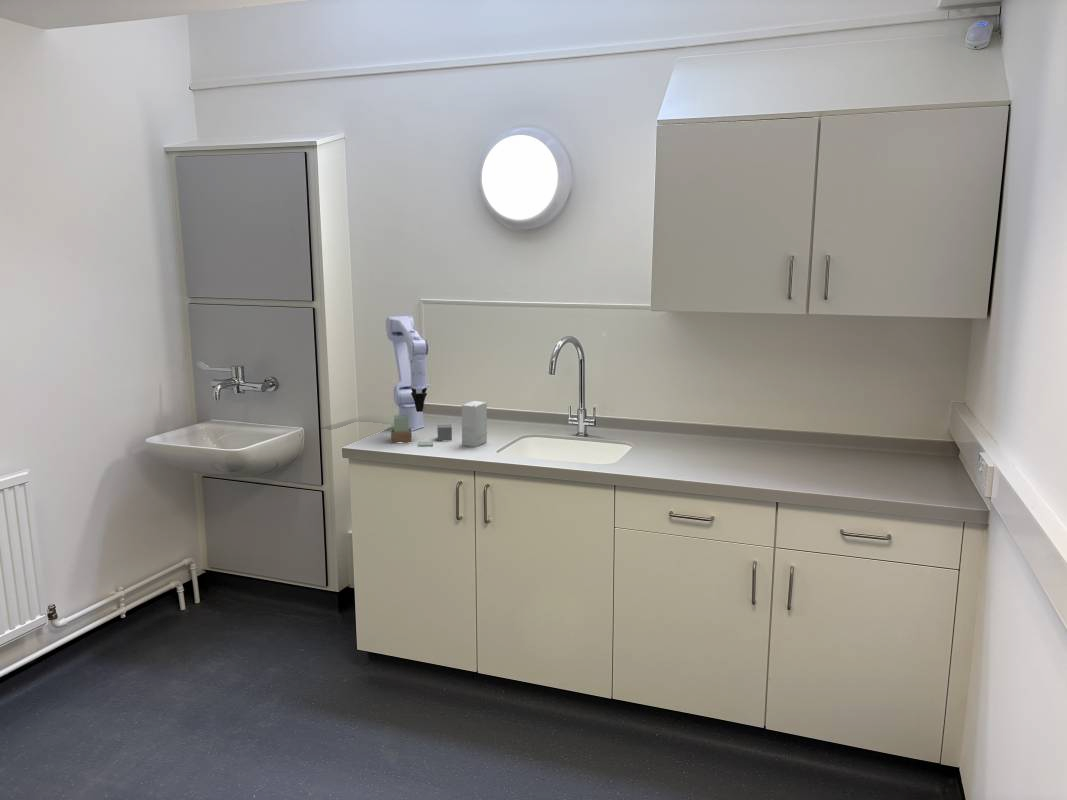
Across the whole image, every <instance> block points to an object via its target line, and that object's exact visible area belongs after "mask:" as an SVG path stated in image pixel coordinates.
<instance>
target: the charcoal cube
mask: <svg viewBox="0 0 1067 800" xmlns="http://www.w3.org/2000/svg"><path fill="white" fill-rule="evenodd" d="M436 425H437V426H436V427H437V430H436V431H437V442H442V441H441V440H452V441H453V431H452V430H453V429H452V428H453V427H452V424H436Z"/></svg>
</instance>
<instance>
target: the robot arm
mask: <svg viewBox="0 0 1067 800" xmlns="http://www.w3.org/2000/svg"><path fill="white" fill-rule="evenodd" d="M414 328H415V322H414V318H413V316H412V315H403V316H402V315H401V316H399V315H398V316H390V315H388V316H387V317H386V319H385V331H386V336H387V338H388V339H387V340H389V341H390V342H392V345H393V349H394V350H393V351H394V355H395V361H396V362H395V363H396V367H397V368H396V369H397V374H398V379H399V380H398V382H397V383H396V384H395V385H394V387H393V401H394V404H395V406H397V407H398V415H408V426H409V428H411V432H413V431H417V430H419V429H422V428H425V426H426V425H424V416H423V415H424V413H423V411H424V405H425V400H426V398H427V395H428V393H427V389H428V387H429V388H430V387H431V384H430V383H428V382H427V381H428V376H427V375H428V374H427V372H428V371H427V369H428V368H427V355H428V353H429V342H428V340H427V339H426V338H422V337H421V335H420V334H419V332H418V331H416V330H415V329H414Z"/></svg>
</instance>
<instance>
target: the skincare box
mask: <svg viewBox="0 0 1067 800" xmlns="http://www.w3.org/2000/svg"><path fill="white" fill-rule="evenodd" d="M487 410H488V409H487V402H486V401H485V402H484V401H479V400H472V401H469V402H467V403H464V404H461V445H462V446H466V447H472V448H476V447H479V446H480V445H482V444H485V443H487V440H488V437H487V436H488V434H487V433H488V430H487V427H488V424H487V421H488V420H487V417H488V414H487V412H488V411H487Z"/></svg>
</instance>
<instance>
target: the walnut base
mask: <svg viewBox="0 0 1067 800" xmlns="http://www.w3.org/2000/svg"><path fill="white" fill-rule="evenodd" d="M390 431H391V432H390V443H391V444H397V443H396V442H411V443H412V439H411V438H413V437H412V431H411V428H409V432H395V431H394V428H391V430H390Z"/></svg>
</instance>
